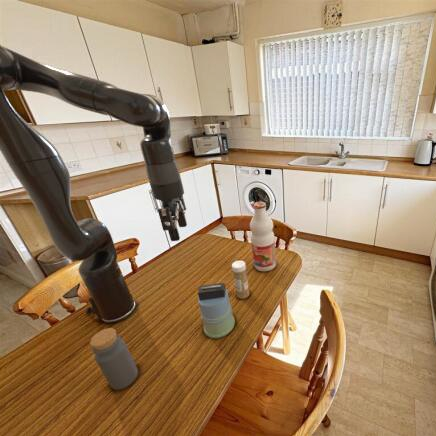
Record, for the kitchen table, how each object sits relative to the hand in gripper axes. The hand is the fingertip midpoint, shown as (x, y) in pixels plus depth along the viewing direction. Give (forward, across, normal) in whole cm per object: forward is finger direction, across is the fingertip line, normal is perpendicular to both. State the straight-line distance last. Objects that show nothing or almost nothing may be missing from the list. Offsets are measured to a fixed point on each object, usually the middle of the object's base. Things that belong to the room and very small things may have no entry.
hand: (179, 233), depth 69 cm
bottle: (+28, +22, -14) cm, 38 cm away
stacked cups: (+28, +10, +8) cm, 31 cm away
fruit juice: (+28, -18, +24) cm, 41 cm away
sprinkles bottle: (+28, -2, +15) cm, 32 cm away
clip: (+16, +10, +8) cm, 21 cm away
